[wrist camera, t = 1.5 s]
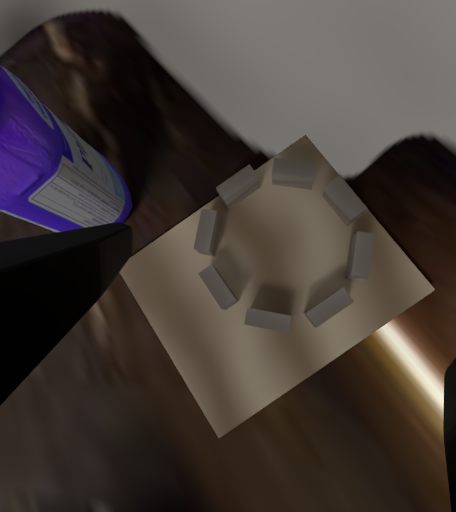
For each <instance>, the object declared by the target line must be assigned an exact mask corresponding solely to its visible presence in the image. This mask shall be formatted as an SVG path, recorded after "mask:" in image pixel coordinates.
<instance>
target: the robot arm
mask: <svg viewBox="0 0 456 512" xmlns="http://www.w3.org/2000/svg"><path fill="white" fill-rule="evenodd" d="M132 241H133V230H132V228H131V227H130V226H128V225H126V224H123V223H120V222H115V223H109V224H104V225H98V226H92V227H86V228H80V229H74V230H68V231H63V232H57V233H51V234H45V235H39V236H33V237H27V238H21V239H16V240H10V241H4V242H0V405H1V404H2V403H3V402H4V401H5V400H6V399H7V398H8V396H9V395H10V394H11V393H12V392H13V391H14V390H15V389H16V388H17V387H18V386H19V385H20V384H21V382H22V381H23V380H24V379H25V378H26V377H27V376H28V375H29V374H30V373H31V372H32V371H33V370H34V368H35V367H36V366H37V365H38V364H39V363H40V362H41V361H42V360H43V359H44V358H45V357H46V356H47V354H48V353H49V352H50V351H51V350H52V349H53V348H54V347H55V346H56V345H57V344H58V343H59V342H60V340H61V339H62V338H63V337H64V336H65V335H66V334H67V333H68V332H69V331H70V330H71V329H72V328H73V326H74V325H75V324H76V323H77V322H78V321H79V320H80V319H81V318H82V317H83V316H84V315H85V314H86V312H87V311H88V310H89V309H90V308H91V307H92V306H93V305H94V304H95V303H96V302H97V301H98V299H99V298H100V297H101V296H102V295H103V294H104V292H105V291H106V290H107V288H108V287H109V286H110V284H111V283H112V282H113V280H114V279H115V277H116V276H117V275H118V273H119V272H120V271H121V269H122V268H123V267H124V265H125V264H126V263H127V261H128V260H129V258H130V257H131V254H132ZM444 445H445V455H446V464H447V474H448V483H449V492H450V502H451V511H452V512H456V358H455V359H454V360H453V362H452V363H451V364H450V365H449V367H448V368H447V370H446V372H445V377H444Z"/></svg>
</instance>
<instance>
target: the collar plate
mask: <svg viewBox="0 0 456 512" xmlns="http://www.w3.org/2000/svg"><path fill="white" fill-rule="evenodd" d="M216 189H217V191H218V193H219V196H218V197H216V198H215V199H213V200H212V201H211V202H209V203H208V204H206V205H205V206H203V207H202V208H201V209H199V210H198V211H196V212H195V213H193V214H192V215H191V216H189V217H188V218H186V219H185V220H183V221H182V222H181V223H179V224H178V225H176V226H175V227H173V228H172V229H171V230H169V231H168V232H166V233H165V234H163V235H162V236H161V237H159V238H158V239H156V240H155V241H153V242H152V243H151V244H149V245H148V246H146V247H145V248H143V249H142V250H141V251H139V252H138V253H136V254H135V255H133V256H132V257H131V258H129V260H128V261H127V263H126V264H125V265H124V267H123V268H122V269H121V271H120V274H121V275H122V277H123V279H124V280H125V282H126V284H127V285H128V287H129V289H130V290H131V292H132V294H133V295H134V297H135V299H136V300H137V302H138V304H139V306H140V307H141V309H142V311H143V312H144V314H145V316H146V317H147V319H148V321H149V322H150V324H151V326H152V327H153V329H154V331H155V332H156V334H157V336H158V337H159V339H160V341H161V342H162V344H163V346H164V347H165V349H166V351H167V352H168V354H169V356H170V358H171V359H172V361H173V363H174V364H175V366H176V368H177V369H178V371H179V373H180V374H181V376H182V378H183V379H184V381H185V383H186V384H187V386H188V388H189V389H190V391H191V393H192V394H193V396H194V398H195V399H196V401H197V403H198V404H199V406H200V408H201V410H202V411H203V413H204V415H205V416H206V418H207V420H208V421H209V423H210V425H211V426H212V428H213V430H214V431H215V433H216V435H217V436H218V438H220V437H222V436H223V435H225V434H226V433H228V432H229V431H231V430H232V429H233V428H235V427H236V426H238V425H239V424H241V423H242V422H244V421H245V420H247V419H248V418H249V417H251V416H252V415H254V414H255V413H257V412H258V411H260V410H261V409H263V408H264V407H265V406H267V405H268V404H270V403H271V402H273V401H274V400H276V399H277V398H279V397H280V396H281V395H283V394H284V393H286V392H287V391H289V390H290V389H292V388H293V387H295V386H296V385H297V384H299V383H300V382H302V381H303V380H305V379H306V378H308V377H309V376H311V375H312V374H313V373H315V372H316V371H318V370H319V369H321V368H322V367H324V366H325V365H327V364H328V363H329V362H331V361H332V360H334V359H335V358H337V357H338V356H340V355H341V354H343V353H344V352H345V351H347V350H348V349H350V348H351V347H353V346H354V345H356V344H357V343H359V342H360V341H361V340H363V339H364V338H366V337H367V336H369V335H370V334H372V333H373V332H375V331H376V330H377V329H379V328H380V327H382V326H383V325H385V324H386V323H388V322H389V321H391V320H392V319H393V318H395V317H396V316H398V315H399V314H401V313H402V312H404V311H405V310H407V309H408V308H409V307H411V306H412V305H414V304H415V303H417V302H418V301H420V300H421V299H423V298H424V297H425V296H427V295H428V294H430V293H431V292H433V291H434V290H435V289H434V288H433V287H432V285H431V284H430V283H429V282H428V281H427V279H426V278H425V277H424V276H423V275H422V274H421V272H420V271H419V270H418V269H417V268H416V266H415V265H414V264H413V263H412V262H411V260H410V259H409V258H408V257H407V256H406V254H405V253H404V252H403V251H402V250H401V248H400V247H399V246H398V245H397V244H396V242H395V241H394V240H393V239H392V238H391V236H390V235H389V234H388V233H387V232H386V230H385V229H384V228H383V227H382V226H381V225H380V223H379V222H378V221H377V220H376V219H375V217H374V216H373V215H372V214H371V213H370V211H369V210H368V209H367V207H366V206H365V205H364V203H363V202H362V201H361V200H360V199H359V198H358V196H357V195H356V194H355V193H354V192H353V190H352V189H351V188H350V187H349V186H348V184H347V183H346V182H345V181H344V180H343V178H342V177H341V176H340V175H339V174H338V173H337V172H336V171H335V170H334V168H333V167H332V166H331V165H330V164H329V162H328V161H327V160H326V159H325V158H324V156H323V155H322V154H321V153H320V152H319V150H318V149H317V148H316V147H315V146H314V145H313V143H312V142H311V141H310V140H309V139H308V137H307V136H306V135H305V136H303V137H302V138H300V139H299V140H298V141H296V142H295V143H293V144H292V145H290V146H289V147H288V148H286V149H285V150H283V151H282V152H281V153H279V154H278V155H276V156H275V157H273V158H272V159H270V160H269V161H268V162H266V163H265V164H263V165H262V166H260V167H259V168H258V169H256V170H255V171H254V170H253V168H252V167H251V166H250V164H249V165H248V166H246V167H245V168H243V169H242V170H240V171H239V172H238V173H236V174H235V175H233V176H232V177H230V178H229V179H228V180H226V181H225V182H223V183H222V184H220V185H219V186H218V187H216Z"/></svg>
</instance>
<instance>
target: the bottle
mask: <svg viewBox="0 0 456 512" xmlns="http://www.w3.org/2000/svg"><path fill="white" fill-rule="evenodd" d="M132 207H133V206H132V199H131V195H130V192H129V189H128V187H127V185H126V183H125V181H124V180H123V178H122V177H121V175H120V174H119V172H118V171H117V170H116V169H115V167H114V166H113V165H112V164H111V163H110V162H109V161H108V160H107V159H106V158H105V157H104V156H103V155H102V154H100V153H99V152H98V151H96V150H94V149H93V148H92V147H91V146H90V145H88V144H87V143H86V142H85V141H84V140H83V139H81V138H80V137H79V136H78V135H77V134H76V133H75V132H74V131H73V130H72V129H70V128H69V127H68V126H67V125H66V124H65V123H64V122H63V121H61V120H60V119H59V118H58V117H57V116H56V115H55V114H53V113H52V112H51V111H50V110H49V109H48V108H47V107H46V106H45V105H44V104H42V103H41V102H40V101H39V100H38V98H37V97H36V96H35V95H34V94H33V93H32V92H31V91H30V90H29V88H28V87H27V86H26V85H25V84H24V83H23V82H22V81H21V80H20V79H19V78H17V77H16V76H14V75H13V74H12V73H11V72H9V71H8V70H7V69H5V68H4V67H2V66H0V211H1V212H4V213H7V214H9V215H12V216H15V217H17V218H20V219H23V220H26V221H28V222H31V223H34V224H36V225H39V226H41V227H44V228H46V229H49V230H52V231H54V232H63V231H68V230H74V229H80V228H86V227H92V226H98V225H104V224H109V223H115V222H120V223H124V222H125V220H126V219H127V217H128V216H129V214H130V211H131V210H132Z"/></svg>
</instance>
